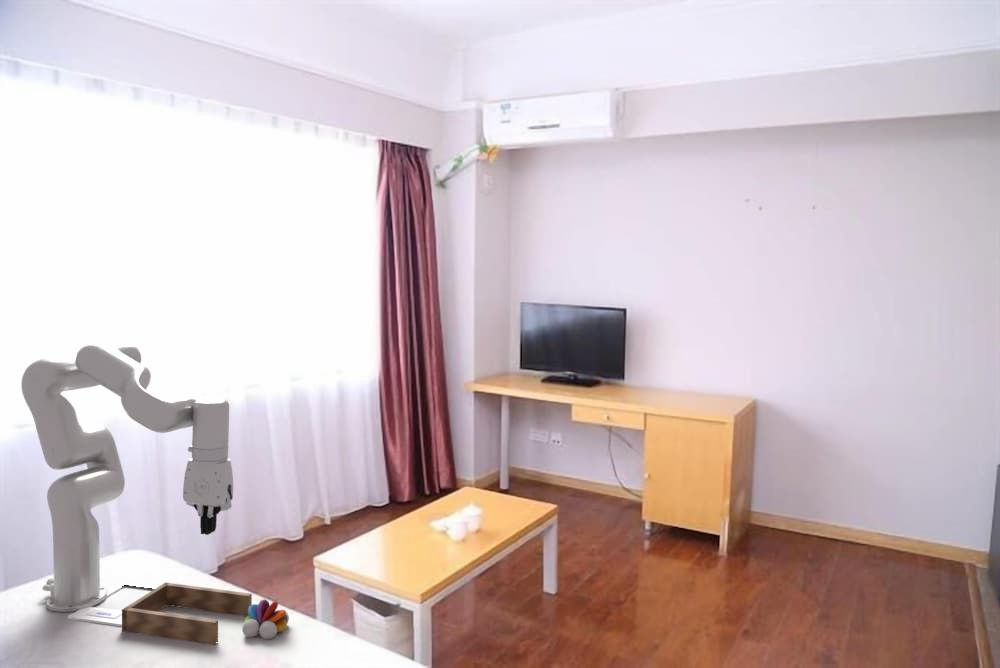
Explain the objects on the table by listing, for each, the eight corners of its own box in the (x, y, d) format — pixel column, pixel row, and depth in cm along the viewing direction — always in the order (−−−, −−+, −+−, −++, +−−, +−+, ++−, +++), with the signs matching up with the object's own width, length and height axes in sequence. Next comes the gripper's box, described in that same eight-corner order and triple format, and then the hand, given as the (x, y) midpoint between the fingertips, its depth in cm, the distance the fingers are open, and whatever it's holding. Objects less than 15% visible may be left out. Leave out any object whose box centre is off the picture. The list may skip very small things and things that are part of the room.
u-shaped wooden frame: (121, 631, 152) (121, 609, 151) (165, 602, 166) (165, 582, 165) (214, 645, 147) (214, 622, 147) (251, 614, 161) (251, 593, 161)
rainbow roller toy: (276, 643, 149) (277, 611, 148) (235, 638, 150) (235, 607, 150) (294, 624, 157) (294, 594, 157) (255, 620, 159) (255, 590, 158)
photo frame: (67, 615, 156) (124, 582, 174) (67, 620, 157) (124, 587, 174) (122, 623, 154) (175, 589, 171) (122, 628, 154) (175, 593, 171)
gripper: (169, 453, 150) (168, 534, 152) (230, 461, 147) (227, 542, 149) (191, 446, 158) (189, 522, 159) (249, 453, 155) (247, 530, 156)
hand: (208, 532), depth 154 cm, fingers closed
